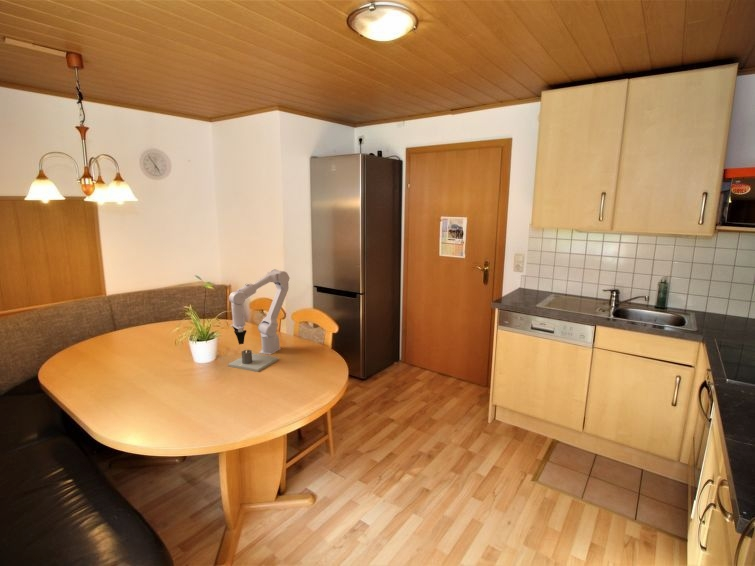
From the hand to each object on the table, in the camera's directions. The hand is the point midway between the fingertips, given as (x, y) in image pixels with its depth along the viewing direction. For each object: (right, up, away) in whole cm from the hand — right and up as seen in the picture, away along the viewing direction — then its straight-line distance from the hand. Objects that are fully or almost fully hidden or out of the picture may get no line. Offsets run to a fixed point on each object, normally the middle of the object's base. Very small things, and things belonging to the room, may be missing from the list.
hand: (240, 341), depth 211 cm
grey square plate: (+8, -10, -3) cm, 13 cm away
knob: (+5, -9, -5) cm, 12 cm away
